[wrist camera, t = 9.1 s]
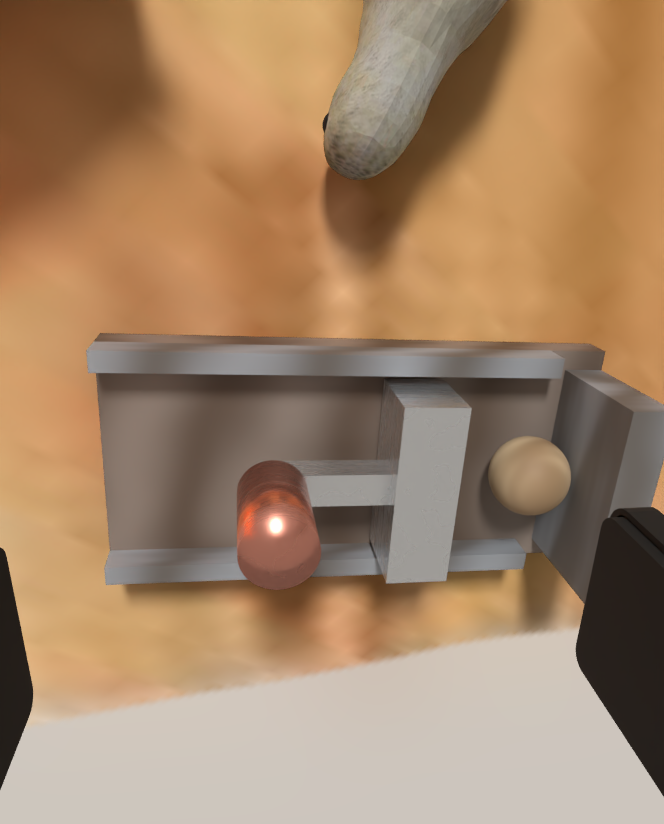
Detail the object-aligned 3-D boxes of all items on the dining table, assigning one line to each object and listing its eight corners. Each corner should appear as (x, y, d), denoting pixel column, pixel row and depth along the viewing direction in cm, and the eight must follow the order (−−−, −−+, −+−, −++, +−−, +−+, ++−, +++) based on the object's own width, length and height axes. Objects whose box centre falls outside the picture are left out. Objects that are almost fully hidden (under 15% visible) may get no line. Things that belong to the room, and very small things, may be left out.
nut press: (589, 343, 33) (682, 390, 27) (549, 537, 38) (619, 620, 31) (100, 333, 30) (59, 384, 23) (116, 550, 34) (86, 649, 27)
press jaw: (443, 379, 31) (508, 445, 24) (423, 536, 34) (475, 637, 27) (236, 377, 29) (237, 447, 22) (235, 541, 33) (236, 651, 25)
